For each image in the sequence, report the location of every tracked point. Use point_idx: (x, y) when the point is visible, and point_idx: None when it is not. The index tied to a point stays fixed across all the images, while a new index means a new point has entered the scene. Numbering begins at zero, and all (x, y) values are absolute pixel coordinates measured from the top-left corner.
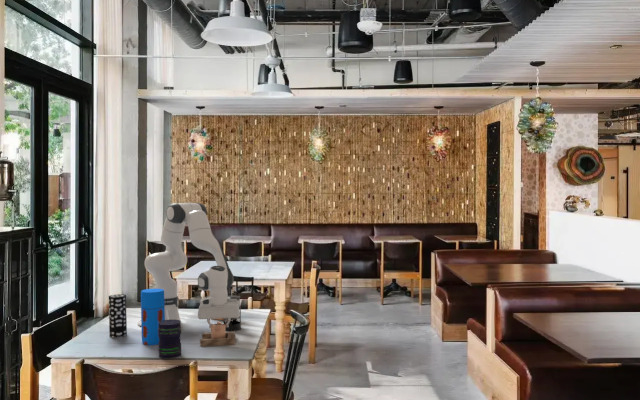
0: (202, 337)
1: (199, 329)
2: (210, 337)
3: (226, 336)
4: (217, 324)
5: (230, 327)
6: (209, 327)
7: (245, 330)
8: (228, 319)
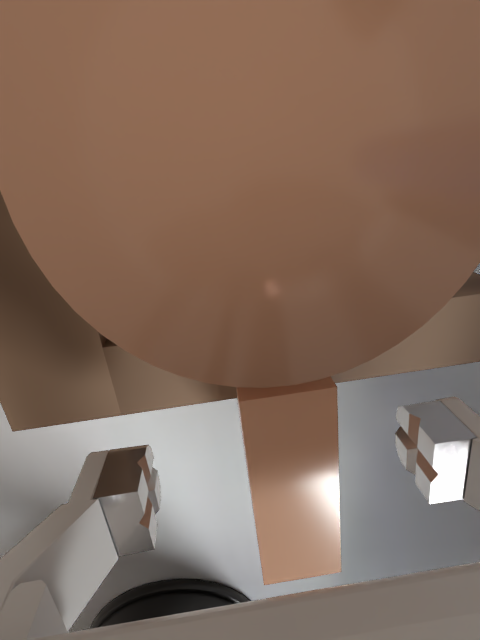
0: (474, 275)
1: None
2: None
3: None
4: (307, 259)
5: None
6: (454, 398)
7: None
8: (14, 608)
